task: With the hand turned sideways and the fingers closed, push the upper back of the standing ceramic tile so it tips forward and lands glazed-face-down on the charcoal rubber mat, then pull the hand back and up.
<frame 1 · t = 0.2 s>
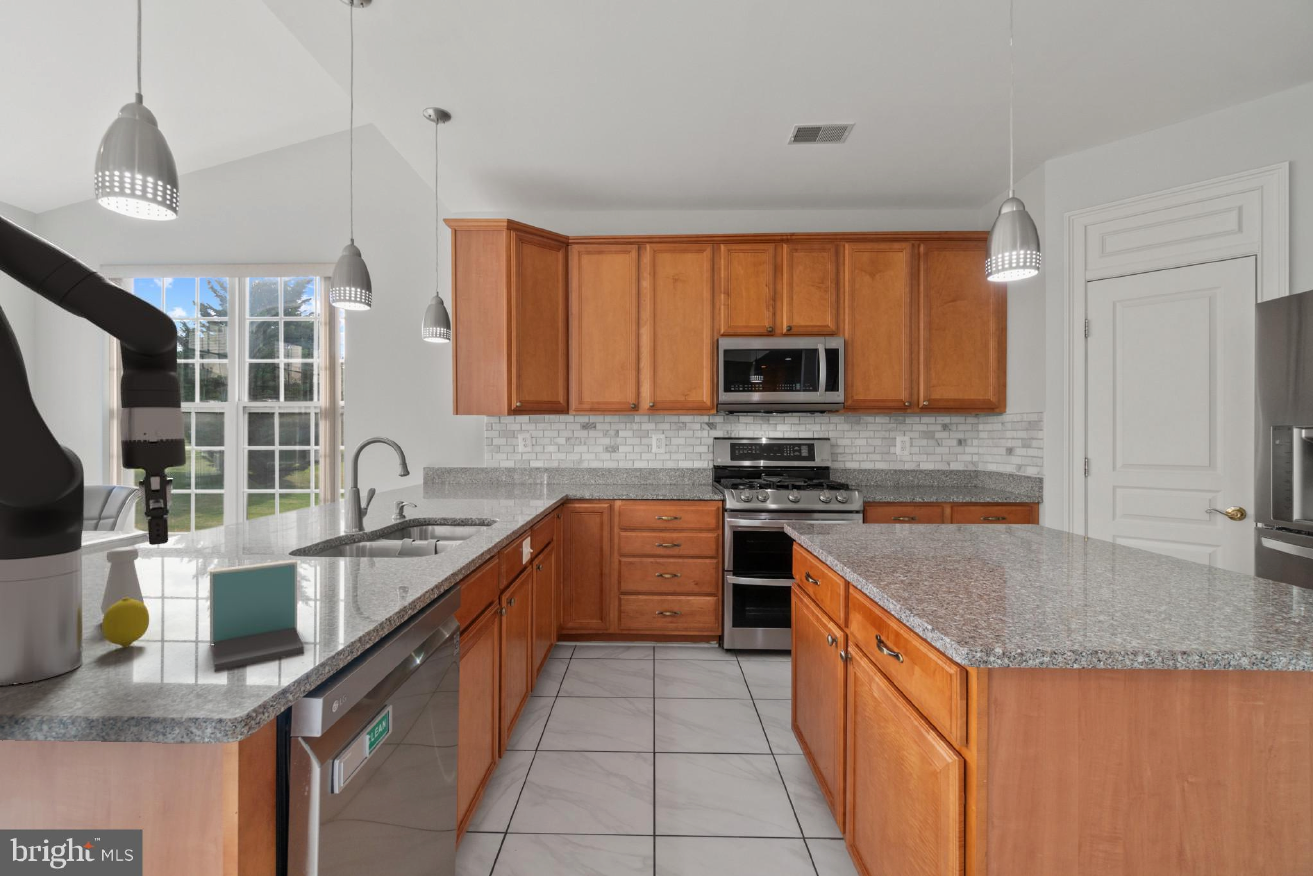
hand: (159, 540, 89), 18 cm above the table, tool pointing down, fingers open, 8 cm apart
lemon: (126, 648, 91), on the table
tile: (255, 636, 96), on the table
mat: (258, 650, 90), on the table
salt shaker: (123, 619, 104), on the table
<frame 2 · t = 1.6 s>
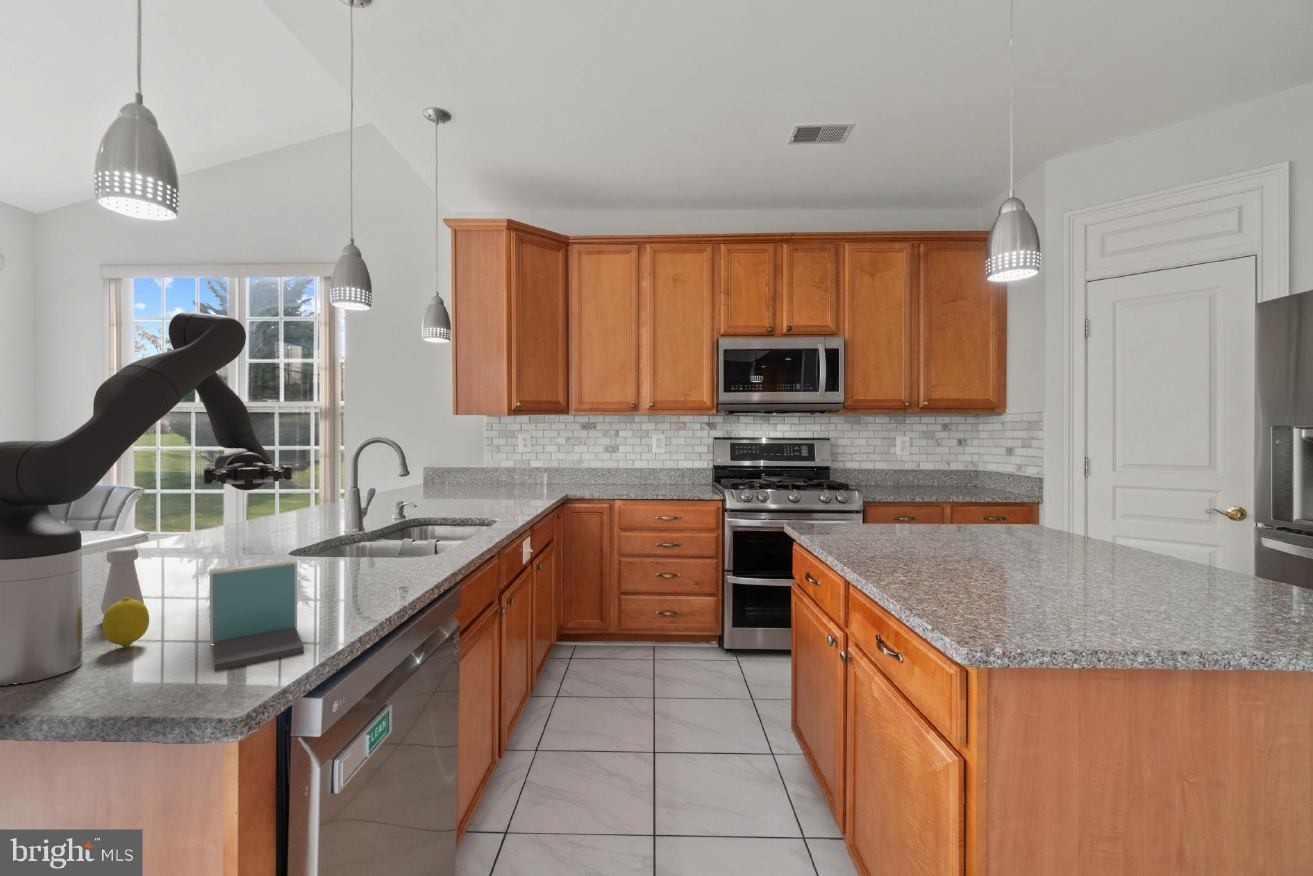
hand: (250, 476, 104), 26 cm above the table, tool horizontal, fingers open, 7 cm apart
nothing on the table moved.
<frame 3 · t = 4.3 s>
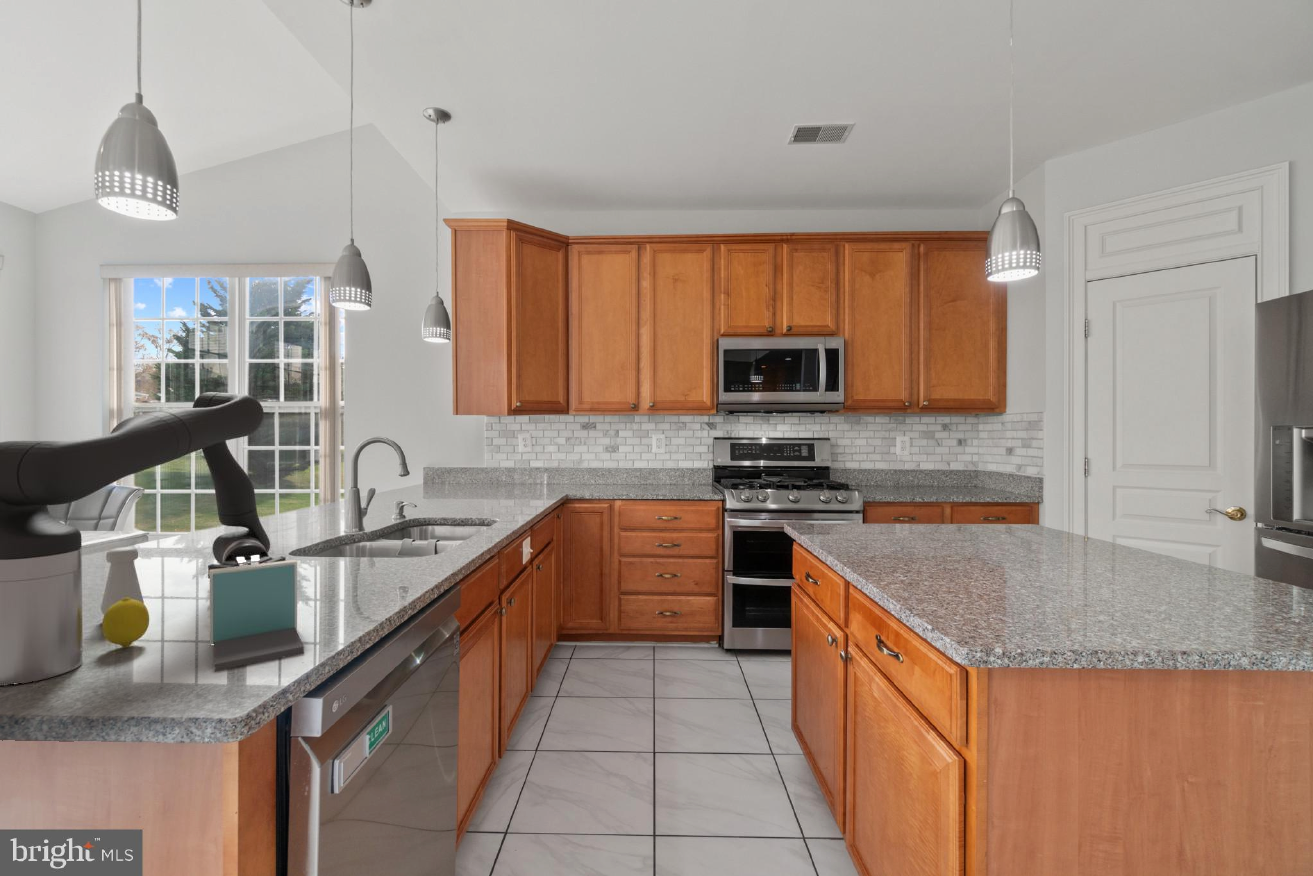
hand: (251, 576, 104), 8 cm above the table, tool horizontal, fingers closed
nothing on the table moved.
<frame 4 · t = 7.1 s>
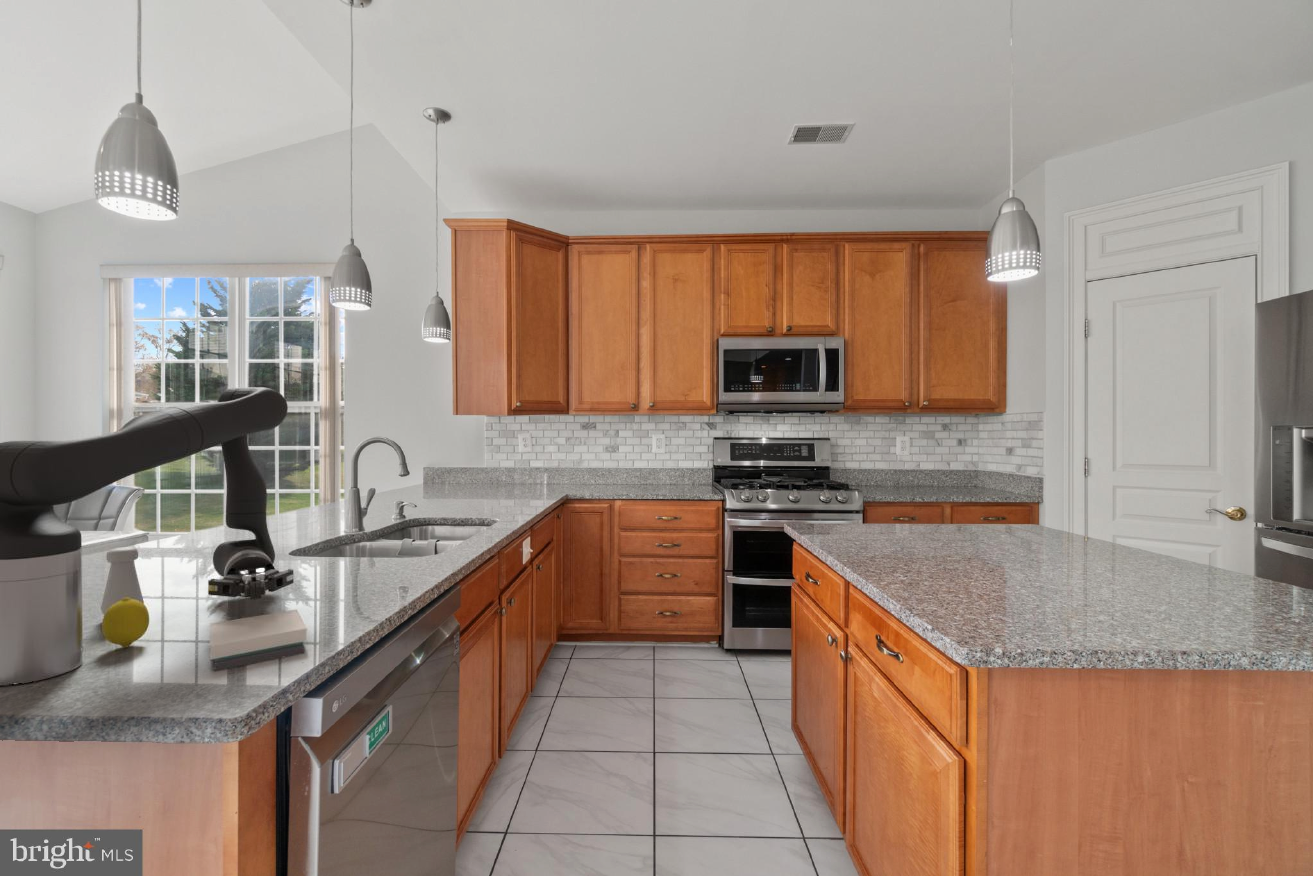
hand: (256, 592, 93), 8 cm above the table, tool horizontal, fingers closed
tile: (255, 623, 95), point 2 cm above the table, tilted 90°, touching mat
everything else where it was.
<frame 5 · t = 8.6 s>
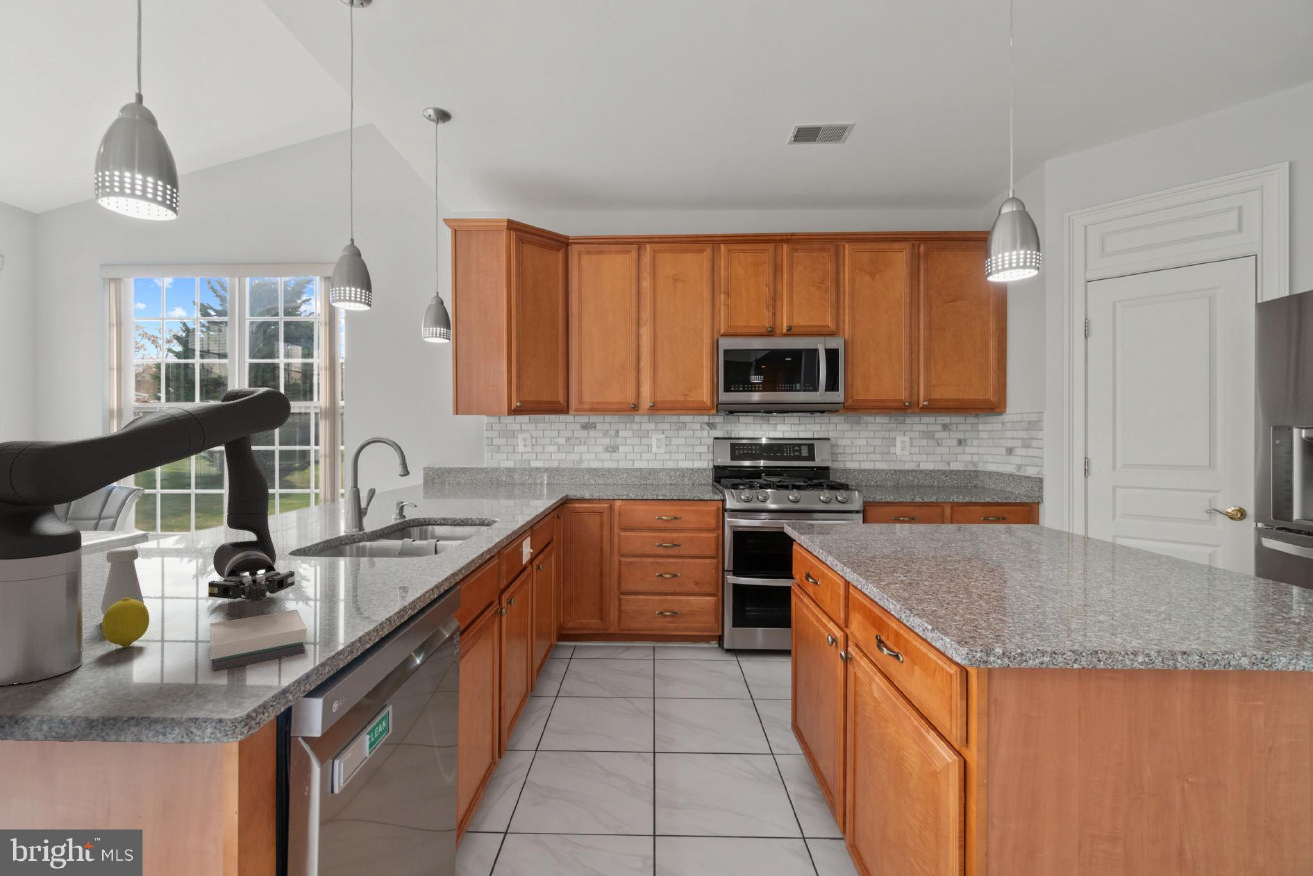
hand: (256, 595, 92), 8 cm above the table, tool horizontal, fingers closed
nothing on the table moved.
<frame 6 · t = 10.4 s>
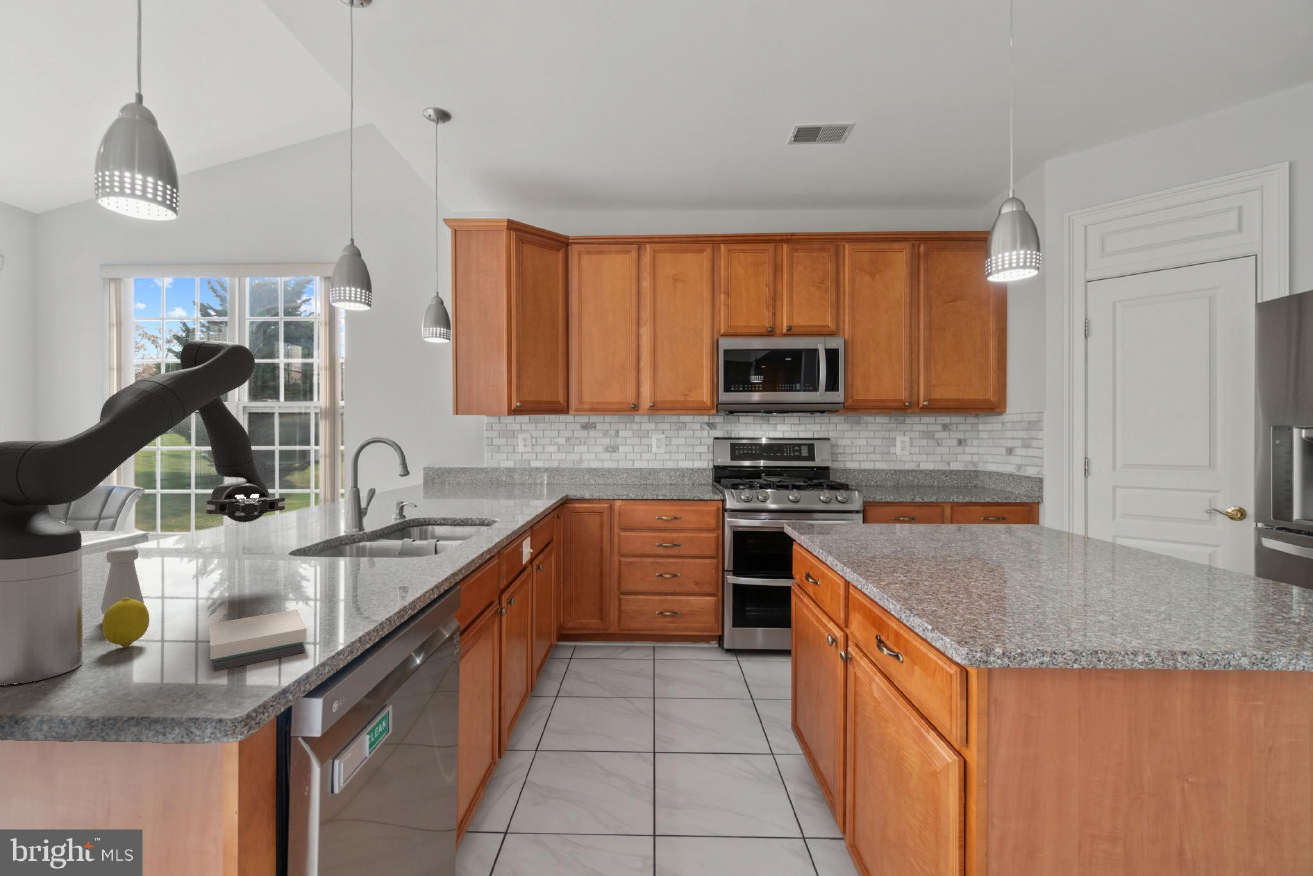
hand: (250, 508, 103), 21 cm above the table, tool horizontal, fingers closed
nothing on the table moved.
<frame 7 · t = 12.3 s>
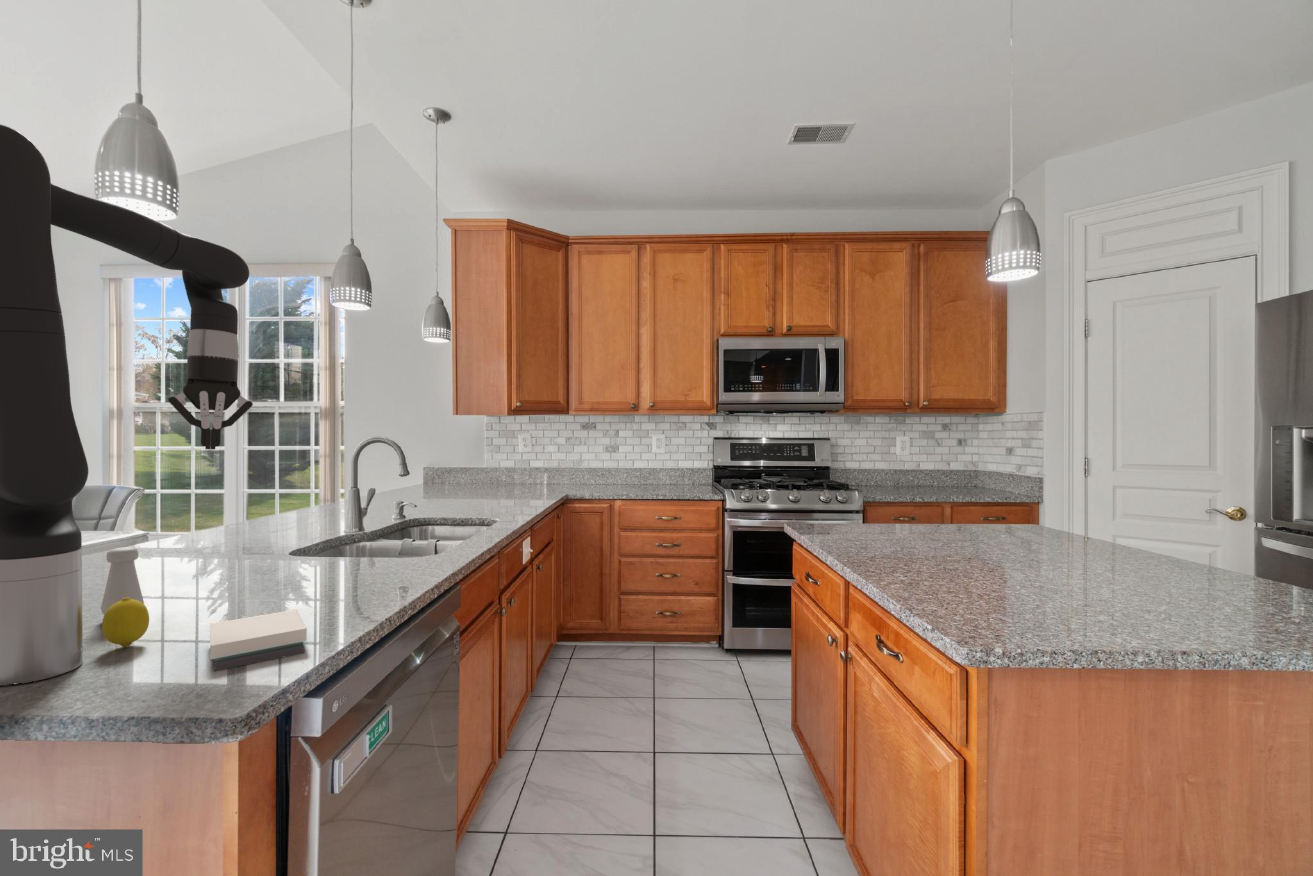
hand: (210, 449, 106), 31 cm above the table, tool pointing down, fingers closed
nothing on the table moved.
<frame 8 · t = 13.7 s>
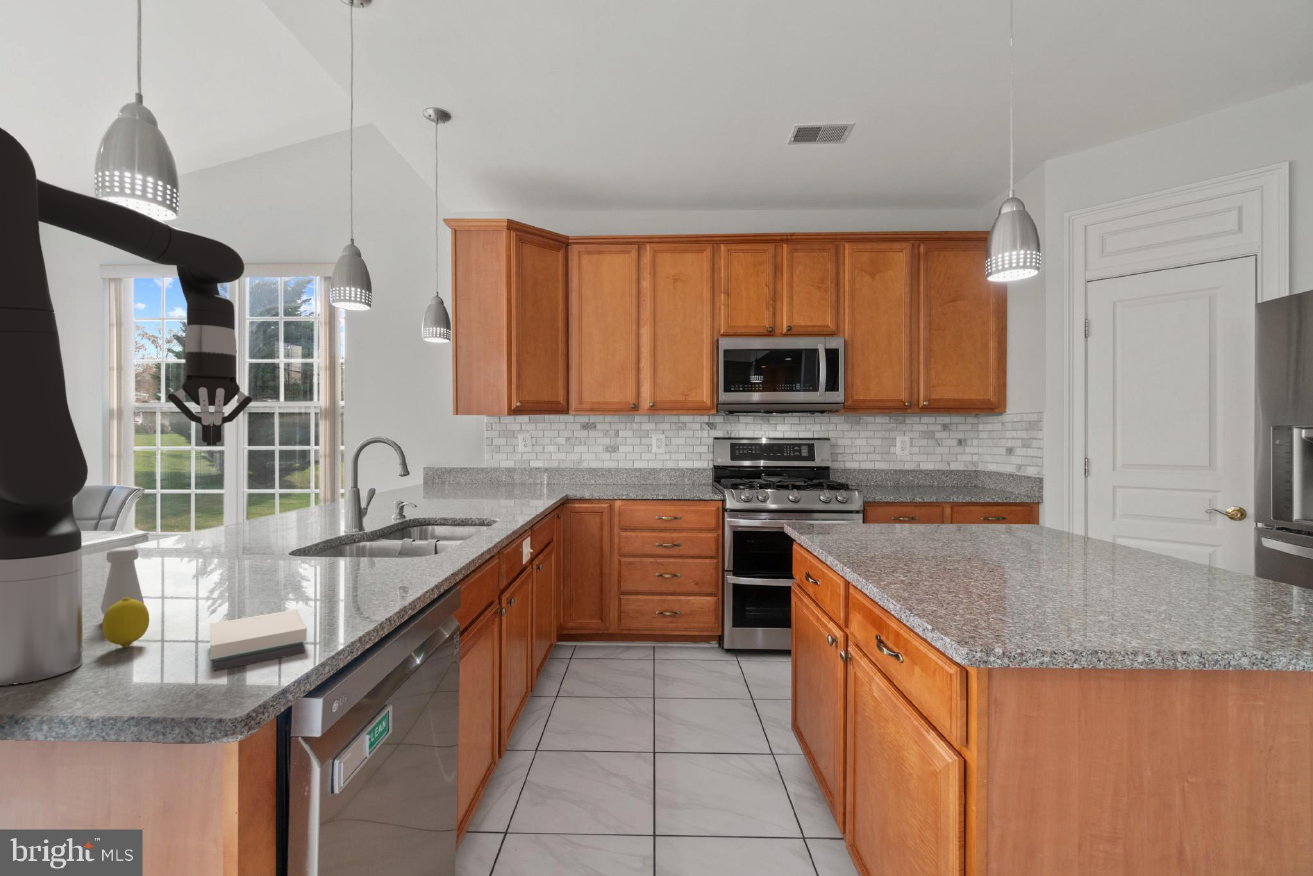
hand: (211, 445, 106), 32 cm above the table, tool pointing down, fingers closed
nothing on the table moved.
at the end: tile tilted 90°; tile touching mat; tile inside the target area (5.9 cm from its centre), point 2.2 cm above the table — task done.
